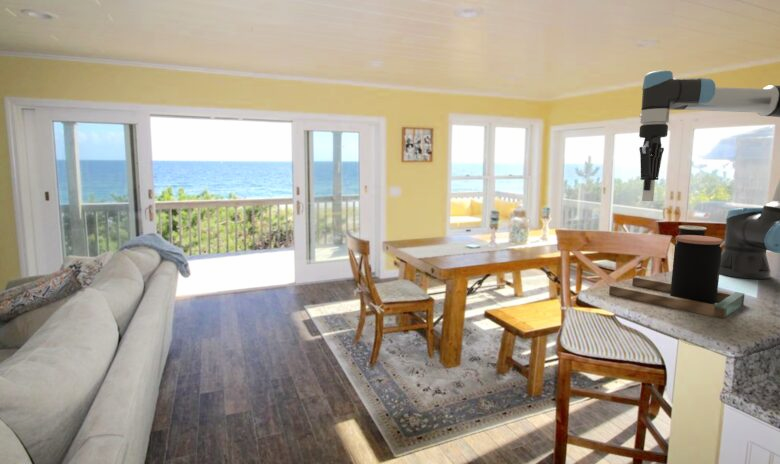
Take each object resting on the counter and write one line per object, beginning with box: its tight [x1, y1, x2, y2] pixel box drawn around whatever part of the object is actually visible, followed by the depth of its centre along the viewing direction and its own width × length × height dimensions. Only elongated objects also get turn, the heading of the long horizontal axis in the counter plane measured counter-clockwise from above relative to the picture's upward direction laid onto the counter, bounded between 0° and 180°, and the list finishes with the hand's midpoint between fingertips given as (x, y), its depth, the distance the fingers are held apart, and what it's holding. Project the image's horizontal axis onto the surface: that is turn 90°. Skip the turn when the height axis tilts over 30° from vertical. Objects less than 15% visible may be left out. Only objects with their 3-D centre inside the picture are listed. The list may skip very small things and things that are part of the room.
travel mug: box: [675, 225, 707, 244], centre depth 145 cm, size 8×8×18 cm
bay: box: [608, 275, 746, 319], centre depth 127 cm, size 28×18×3 cm, turn 40°
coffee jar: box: [669, 234, 724, 305], centre depth 123 cm, size 11×11×18 cm
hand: (647, 200), depth 142 cm, fingers closed
